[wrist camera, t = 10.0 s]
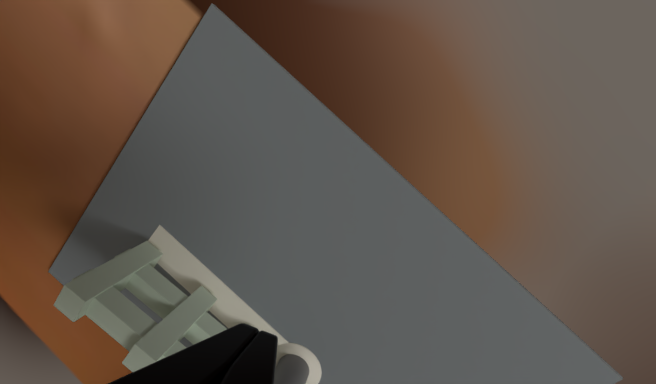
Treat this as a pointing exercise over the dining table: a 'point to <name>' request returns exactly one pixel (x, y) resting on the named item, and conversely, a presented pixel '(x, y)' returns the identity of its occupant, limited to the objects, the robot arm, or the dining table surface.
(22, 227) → the dining table surface
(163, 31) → the dining table surface
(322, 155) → the mat
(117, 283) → the hinged fence panel
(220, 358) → the robot arm
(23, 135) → the dining table surface
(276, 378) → the fixed fence panel
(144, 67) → the dining table surface
